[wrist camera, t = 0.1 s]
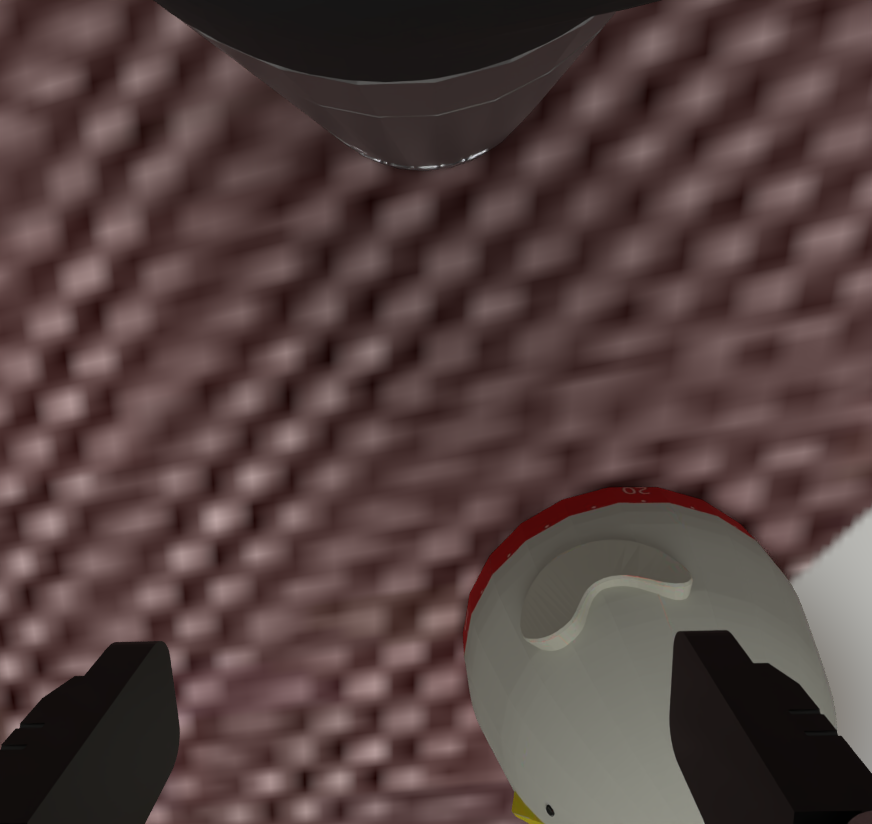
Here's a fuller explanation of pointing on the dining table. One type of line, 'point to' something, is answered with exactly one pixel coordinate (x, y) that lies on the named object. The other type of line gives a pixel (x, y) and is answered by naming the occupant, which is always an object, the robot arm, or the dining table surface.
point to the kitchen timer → (616, 647)
